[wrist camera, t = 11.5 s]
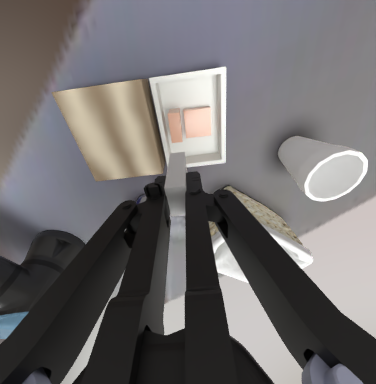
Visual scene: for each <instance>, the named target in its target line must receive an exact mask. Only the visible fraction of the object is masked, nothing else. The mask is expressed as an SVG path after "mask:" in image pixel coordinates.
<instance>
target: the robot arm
mask: <svg viewBox="0 0 376 384" xmlns="http://www.w3.org/2000/svg"><path fill="white" fill-rule="evenodd" d="M144 191H145V194H146V197H147V198H146V201H144V202H142V203H139V204H136V202H135V201H133V200H128V201H124V202H123V203H121V204H120V205H119V206H118V207H117V208H116V209H115V210H114V212H113V213H112V214H111V215H110V216H109V217H108V219H107V220H106V221H105V222H104V223H103V225H102V226H101V227H100V228H99V229H98V231H97V232H96V233H95V234H94V235H93V236H92V238H91V239H90V240H89V241H88V242H87V244H86V245H85V244H84V243H83V242H82V241H81V240H80V239H78V238H77V237H75V236H73V235H71V234H69V233H66V232H62V231H55V230H50V231H44V232H42V233H40V234H39V235H38V236H37V237H36V238H35V239H34V240H33V241H32V243H31V247H30V249H29V251H28V253H27V256H26V258H25V260H24V261H23V263H22V264H21V265H18V264H16V263H14V262H12V261H10V260H8V259H6V258H4V257H2V256H0V339H6V340H4V341H3V342H2V343H1V344H0V384H60V383H61V382H62V381H63V379H64V378H65V376H66V375H67V373H68V371H69V370H70V368H71V367H72V366H73V364H74V362H75V360H76V359H77V357H78V355H79V354H80V352H81V350H82V348H83V346H84V345H85V343H86V341H87V339H88V337H89V335H90V334H91V332H92V330H93V328H94V326H95V324H96V322H97V320H98V319H99V317H100V315H101V313H102V311H103V309H104V308H105V306H106V304H107V302H108V300H109V298H110V296H111V295H112V293H113V291H114V289H115V287H116V285H117V283H118V282H119V280H120V278H121V276H122V274H123V272H124V270H125V272H124V276H123V279H122V282H121V286H120V289H119V292H118V295H117V296H116V297H114V298H112V299H111V300H110V301H109V303H108V305H107V308H106V310H105V313H104V317H103V319H102V322H101V325H100V328H99V331H98V334H97V337H96V340H95V344H94V346H93V349H92V353H91V355H90V358H89V361H88V364H87V366H86V367H85V368H84V370H83V371H82V372H81V373H80V375H79V376H78V377H77V378H76V380H75V381H74V382H73V383H72V384H274V383H273V381H272V380H271V379H270V378H269V377H268V375H267V374H266V373H265V372H264V370H263V369H262V368H261V367H260V365H259V364H258V363H257V362H256V360H255V359H254V358H253V357H252V356H251V354H250V353H249V352H248V351H247V350H246V348H245V347H244V346H242V344H241V343H239V342H238V341H237V340H235V339H234V338H233V337H231V336H230V335H229V329H228V324H227V318H226V313H225V307H224V301H223V296H222V292H221V288H220V285H219V279H218V274H217V268H216V262H215V256H214V250H213V245H212V239H211V233H210V227H209V222H208V221H210V222H215V225H216V227H217V228H218V230H219V232H220V233H221V235H222V237H223V239H224V240H225V242H226V244H227V246H228V247H229V249H230V251H231V253H232V254H233V256H234V258H235V260H236V261H237V263H238V265H239V266H240V268H241V270H242V272H243V273H244V275H245V277H246V279H247V280H248V282H249V284H250V286H251V287H252V289H253V291H254V293H255V294H256V296H257V298H258V299H259V301H260V303H261V305H262V306H263V308H264V310H265V311H266V313H267V315H268V317H269V319H270V320H271V322H272V324H273V326H274V327H275V329H276V331H277V332H278V334H279V336H280V337H281V339H282V341H283V342H284V344H285V345H286V347H287V349H288V350H289V352H290V353H291V354H292V356H293V357H294V358H295V360H296V361H297V362H298V364H299V365H300V366H301V368H302V369H303V372H302V384H376V339H375V338H374V337H373V336H371V335H370V334H369V333H367V332H366V331H365V330H363V329H362V328H361V327H359V326H358V325H357V324H356V323H354V322H353V321H352V320H350V319H349V318H348V317H346V316H345V315H344V314H342V313H341V312H340V311H339V310H338V309H337V308H336V306H335V305H334V304H333V303H332V302H331V301H330V300H329V299H328V298H327V297H326V296H325V294H324V293H323V292H322V291H321V290H320V289H319V288H318V287H317V285H316V284H315V283H314V282H313V281H312V280H311V279H310V278H309V277H308V276H307V274H306V273H305V272H304V271H303V270H302V269H301V268H300V267H299V266H298V264H297V263H296V262H295V261H294V260H293V259H292V258H291V257H290V256H289V255H288V253H287V252H286V251H285V250H284V249H283V248H282V247H281V246H280V245H279V243H278V242H277V241H276V240H275V239H274V238H273V237H272V236H271V235H270V234H269V232H268V231H267V230H266V229H265V228H264V227H263V226H262V225H261V224H260V222H259V221H258V220H257V219H256V218H255V217H254V216H253V215H252V214H251V213H250V211H249V210H248V209H247V208H246V207H245V206H244V205H243V204H242V203H241V201H240V200H239V199H238V198H237V197H236V196H235V195H234V194H233V193H232V192H231V191H230V190H227V189H221V190H217V191H216V192H214V194H208V193H205V192H204V191H203V189H202V184H201V179H200V174H199V173H198V172H197V171H196V172H188V173H187V165H186V158H185V152H178V153H170V157H169V163H168V169H167V175H166V176H158V177H157V178H156V179H155V182H154V183H150V184H148V185H146V186H145V187H144ZM170 215H171V217H175V216H185V219H186V292H185V328H184V329H182V330H179V331H177V332H174V333H172V334H170V335H164V325H163V311H164V299H165V287H166V274H167V262H168V250H169V237H170V225H171V220H170ZM125 229H126V231H125ZM124 231H125V232H124Z"/></svg>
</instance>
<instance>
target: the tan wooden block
mask: <svg viewBox="0 0 376 384" xmlns="http://www.w3.org/2000/svg"><path fill="white" fill-rule="evenodd" d="M52 94H53V96H54V98H55V100H56V102H57V104H58V106H59V108H60V110H61V112H62V114H63V116H64V118H65V120H66V122H67V124H68V126H69V128H70V130H71V132H72V134H73V136H74V138H75V140H76V143H77V145H78V147H79V149H80V151H81V153H82V155H83V157H84V159H85V161H86V163H87V165H88V167H89V169H90V171H91V173H92V175H93V177H94V179H95V181H104V180H112V179H121V178H129V177H138V176H146V175H155V174H163V170H164V165H165V157H164V153H163V148H162V143H161V138H160V134H159V129H158V124H157V120H156V115H155V110H154V106H153V101H152V96H151V91H150V87H149V82H148V79H138V80H131V81H125V82H118V83H111V84H104V85H98V86H91V87H84V88H77V89H71V90H64V91H57V92H52Z"/></svg>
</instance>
